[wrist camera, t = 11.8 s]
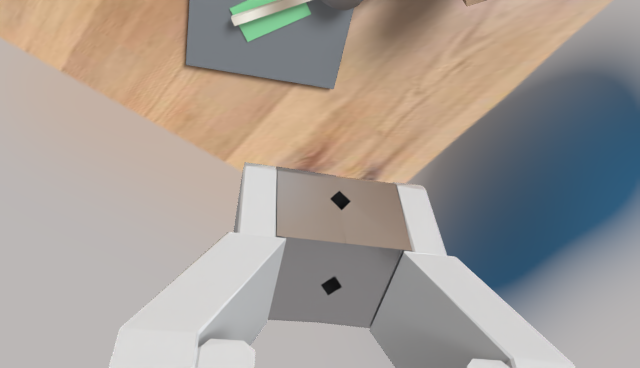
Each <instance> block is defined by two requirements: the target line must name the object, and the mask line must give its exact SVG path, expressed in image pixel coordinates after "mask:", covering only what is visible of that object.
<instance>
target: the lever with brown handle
mask: <svg viewBox="0 0 640 368" xmlns="http://www.w3.org/2000/svg"><path fill="white" fill-rule="evenodd" d="M308 1H311V0H276V1H273V2H270V3H267V4H264V5H261V6H258V7H255V8H253V9H250V10H247V11H244V12H241V13H238V14H235V15H232V16H231V19H232V22H233V24H234V26H237V25H240V24H243V23H246V22H249V21H252V20H254V19H257V18H260V17H263V16H266V15H269V14H272V13H275V12H278V11H281V10H284V9H287V8H290V7H293V6H296V5H299V4H302V3H305V2H308ZM361 1H362V0H327V2H328V3H329V4H330V5H331V6H332V7H334V8H335V9H338V10H350V9H353V8H355V7H356V6H358V5H359V4H360V2H361ZM483 1H486V0H463V2H464V3H465V5H466V6H470V5H473V4H476V3H480V2H483Z"/></svg>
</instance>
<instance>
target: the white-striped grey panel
mask: <svg viewBox="0 0 640 368" xmlns="http://www.w3.org/2000/svg"><path fill="white" fill-rule="evenodd" d="M273 1H276V0H190V2H189V19H188V37H187V54H186V65H191V66H197V67H203V68H209V69H215V70H221V71H227V72H233V73H239V74H245V75H252V76H258V77H264V78H270V79H276V80H282V81H288V82H294V83H300V84H306V85H312V86H318V87H324V88H330V89H334V86H335V82H336V78H337V74H338V70H339V66H340V62H341V58H342V54H343V49H344V45H345V41H346V37H347V33H348V29H349V25H350V21H351V17H352V13H353V9H354V8H353V9H350V10H338V9H335V8H334V7H332V6H331V5H330V4H329V3H328V2H327V0H311V1H308V2H305V3H302V4H299V5H296V6H293V7H290V8H287V9H284V10H281V11H278V12H275V13H272V14H269V15H266V16H263V17H260V18H257V19H254V20H252V21H249V22H246V23H243V24H240V25H237V26H234V24H233V22H232V19H231V16H232V15H235V14H238V13H241V12H244V11H247V10H250V9H253V8H255V7H258V6H261V5H264V4H267V3H270V2H273Z"/></svg>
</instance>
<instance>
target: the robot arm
mask: <svg viewBox="0 0 640 368" xmlns="http://www.w3.org/2000/svg"><path fill="white" fill-rule="evenodd" d="M267 320H284V321H285V320H286V321H302V322H319V323H328V324H337V325H347V326H355V327H364V328H370V332H371V333H372V335H373V336H374V338H375V339H376V341H377V342H378V343H379V345H380V346H381V348H382V349H383V351H384V352H385V354H386V355H387V356H388V358H389V359H390V361H391V362H392V364H393V365H394V366H395V368H575V366H574V364H573V363H572V362H571V361H570V360H568V359H567V358H566V357H565V356H564V355H563V354H562V353H561V352H560V351H559V350H558V349H556V348H555V347H554V346H553V345H552V344H551V343H550V342H549V341H548V340H547V339H545V338H544V337H543V336H542V335H541V334H540V333H539V332H538V331H537V330H535V329H534V328H533V327H532V326H531V325H530V324H529V323H528V322H527V321H526V320H525V319H523V318H522V317H521V316H520V315H519V314H518V313H517V312H516V311H514V309H512V308H511V307H510V306H509V305H508V304H507V303H506V302H505V301H504V300H502V299H501V298H500V297H499V296H498V295H497V294H496V293H495V292H494V291H493V290H491V289H490V288H489V287H488V286H487V285H486V284H485V283H484V282H482V280H481V279H479V278H478V277H477V276H476V275H475V274H474V273H473V272H472V271H470V270H469V269H468V268H467V267H466V266H465V265H464V264H463V263H462V262H461V261H459V259H457V258H456V257H453V256H447V254H446V251H445V248H444V245H443V242H442V239H441V236H440V233H439V229H438V226H437V224H436V220H435V217H434V214H433V211H432V208H431V204H430V202H429V198H428V195H427V192H426V189H425V188H424V187H423V186H421V185H414V184H404V183H394V182H393V183H386V182H378V181H370V180H362V179H355V178H347V177H339V176H334V175H328V174H321V173H315V172H308V171H302V170H295V169H289V168H282V167H276V168H275V166H267V165H260V164H253V163H246V162H245V164H244V167H243V173H242V180H241V186H240V193H239V199H238V206H237V212H236V219H235V226H234V232H227V233H226V234H225V235H224V236H223V237H222V238H221V239H219V240H218V241H217V242H216V243H215V244H214V245H213V246H212V247H211V248H209V249H208V250H207V251H206V252H205V253H204V254H203V255H201V256H200V257H199V258H198V259H197V260H196V261H195V262H194V263H193V264H191V265H190V266H189V267H188V268H187V269H186V270H185V271H184V272H182V273H181V274H180V275H179V276H178V277H177V278H176V279H175V280H173V281H172V282H171V283H170V284H169V285H168V286H167V287H166V288H165V289H163V290H162V291H161V292H160V293H159V294H158V295H157V296H155V297H154V298H153V299H152V300H151V301H150V302H149V303H148V304H147V305H145V306H144V307H143V308H142V309H141V310H140V311H139V312H137V313H136V314H135V315H134V316H133V317H132V318H131V319H130V320H129V321H127V322H126V323H125V324H124V325H123V326H122V327H121V328H120V329H119V333H118V336H117V340H116V344H115V347H114V351H113V354H112V358H111V361H110V365H109V368H255V350H254V349H253V348H252V347H250V345H251V344H252V342H253V341H254V340H255V338H256V337H257V336H258V334H259V333H260V332H261V330H262V329H263V327H264V326H265V325H266V323H267Z"/></svg>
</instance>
